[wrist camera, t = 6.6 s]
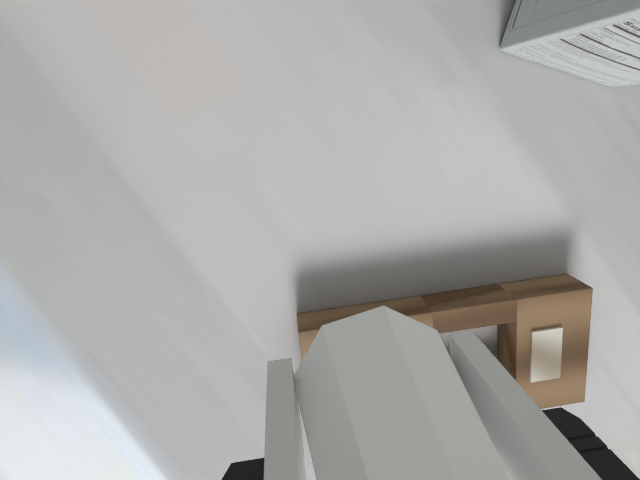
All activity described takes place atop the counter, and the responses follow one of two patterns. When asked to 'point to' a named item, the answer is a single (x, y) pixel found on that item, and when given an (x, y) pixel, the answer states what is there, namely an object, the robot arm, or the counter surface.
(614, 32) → the supplement box
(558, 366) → the brown flat tray
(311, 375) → the pepper shaker
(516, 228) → the counter surface
